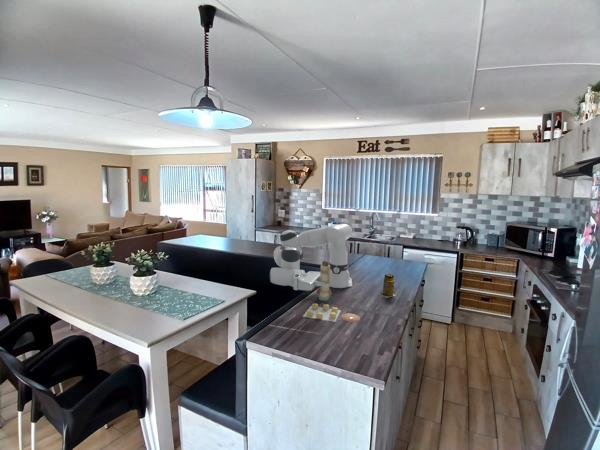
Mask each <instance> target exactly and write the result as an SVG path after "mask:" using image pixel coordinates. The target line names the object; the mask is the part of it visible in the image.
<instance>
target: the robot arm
mask: <svg viewBox="0 0 600 450" xmlns="http://www.w3.org/2000/svg"><path fill="white" fill-rule="evenodd" d="M352 234H353V229H352V227H351V226H350V225H349V224H347V223H338V224H334V225H329V226H324V227H318V228H314V229H309V230H308V229H307V230H305V231H302V232H300V233H299V232H298V231H295V230H292V229H287V230H285V231H283V232H281V233H280V235H279V241H280V242H281V245H279V246H277V247H275V248H274V251H273V260H274V262H275V263H276V265H277V266H278V267H271V269H270V271H269V280H270V283H272V284H274V285H277V286H278V285H279V286H283V287H284V286H285V287H286V286H290V287H292V288H293V290H294V291H298V290H299V291H312V290H314V288H315V287H320V286H325V283H326V282H323V281H322V282H320V271H312V270H311V271H310V270H309V271H307V272H306V271H305V269H300V267H301V266H300V265H301V263H300V262H301V260H302V259H303V258H304V253H303V251H302V247H303V248H311V247H319V246H324V245H328V246H329V261H328V262H329V265H330V283H329V288H336V289H345V288H349V287H350V288H351V287H353V281H352V280H353V279H352V277H350V272H349V270H348V269H349V265H348V256H349V255H348V253H349V252H348V249H347V246H346V241H347V240H348V239H350V237H351V236H352Z"/></svg>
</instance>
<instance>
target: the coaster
mask: <svg viewBox="0 0 600 450" xmlns="http://www.w3.org/2000/svg"><path fill="white" fill-rule="evenodd" d="M340 319H342V320H343V321H345V322H349V323H357V322H359V321H360V320H361V317H360V316H359V315H357V314H354V313H349V312H346V313H343V314H341V315H340Z"/></svg>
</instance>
